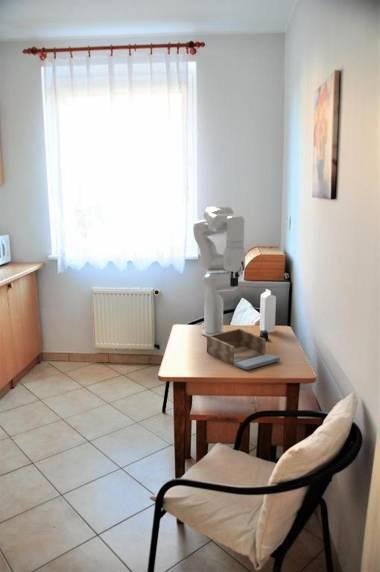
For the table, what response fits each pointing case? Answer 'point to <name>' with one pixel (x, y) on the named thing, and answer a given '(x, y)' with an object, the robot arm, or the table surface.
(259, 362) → the panel
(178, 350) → the table surface
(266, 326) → the milk
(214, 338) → the crate
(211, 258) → the robot arm
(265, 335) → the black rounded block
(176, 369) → the table surface
